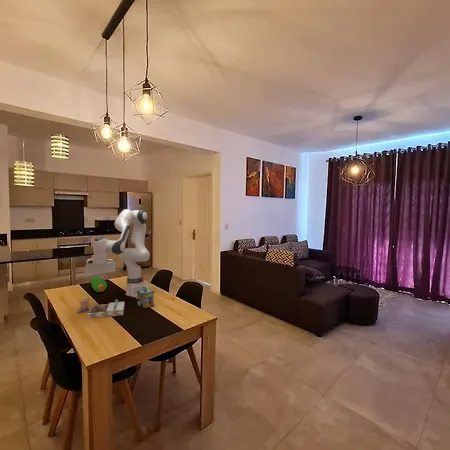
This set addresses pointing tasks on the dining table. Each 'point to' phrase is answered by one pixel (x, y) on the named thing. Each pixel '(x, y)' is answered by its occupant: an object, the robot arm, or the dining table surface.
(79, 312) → the slate tile
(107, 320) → the dining table surface
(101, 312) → the sliding lid box
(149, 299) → the chalk box
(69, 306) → the dining table surface
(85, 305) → the terracotta knob
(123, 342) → the dining table surface
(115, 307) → the sliding lid panel
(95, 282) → the decorative tree
